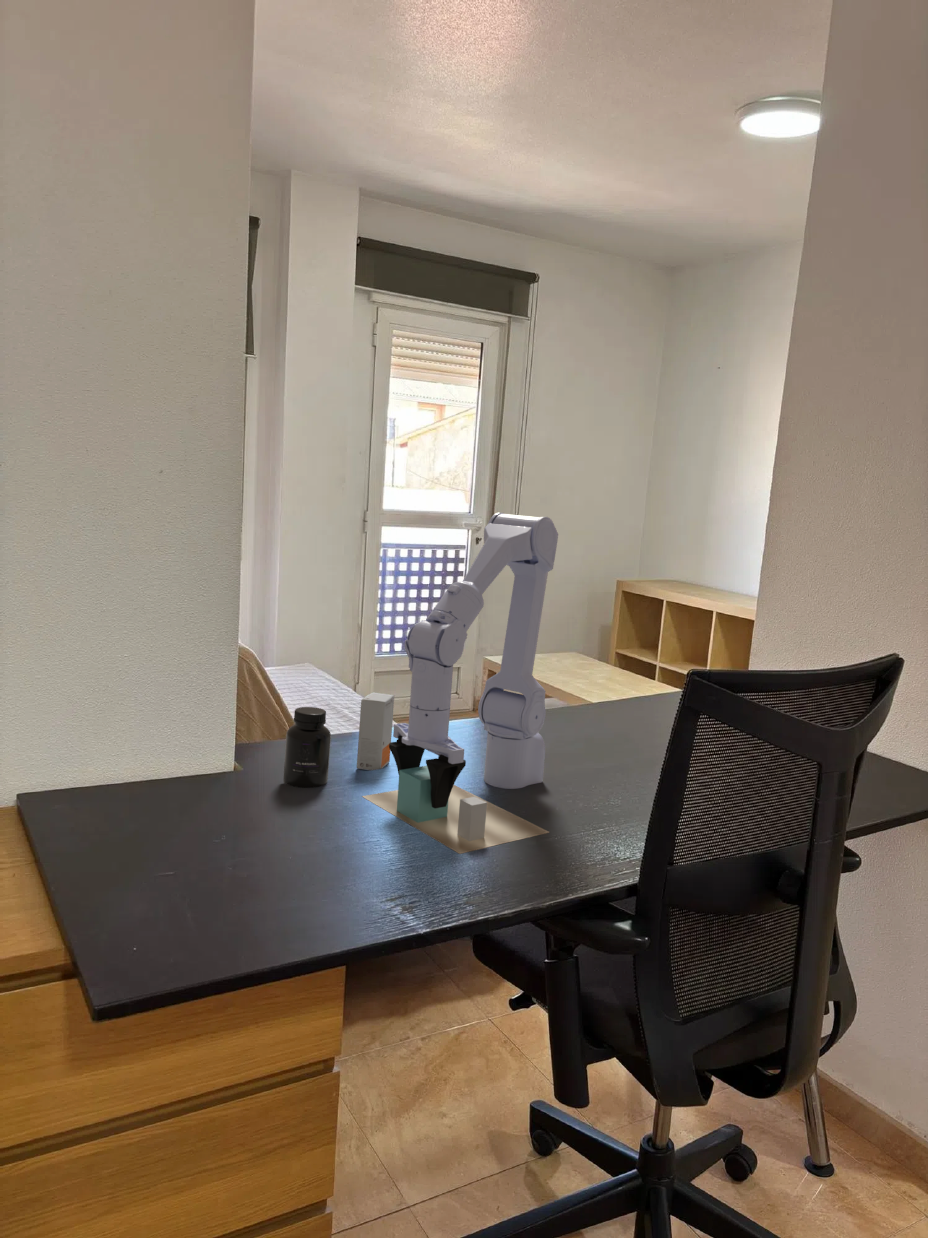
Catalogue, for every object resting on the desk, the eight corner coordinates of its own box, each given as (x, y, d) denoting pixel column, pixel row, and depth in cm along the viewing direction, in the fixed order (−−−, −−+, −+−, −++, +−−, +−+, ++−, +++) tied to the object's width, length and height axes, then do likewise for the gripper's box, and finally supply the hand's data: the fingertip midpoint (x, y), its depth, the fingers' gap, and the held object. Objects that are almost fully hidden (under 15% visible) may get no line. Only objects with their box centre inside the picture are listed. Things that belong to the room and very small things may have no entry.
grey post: (472, 831, 125) (475, 796, 125) (484, 837, 123) (487, 802, 123) (457, 834, 124) (460, 799, 123) (469, 841, 122) (472, 805, 121)
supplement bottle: (297, 795, 137) (301, 718, 135) (275, 782, 142) (278, 707, 140) (336, 788, 141) (340, 713, 139) (312, 775, 146) (316, 703, 144)
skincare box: (380, 772, 150) (385, 702, 149) (355, 769, 151) (360, 699, 149) (390, 762, 156) (395, 694, 155) (367, 759, 157) (371, 691, 155)
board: (446, 786, 146) (447, 781, 146) (549, 837, 127) (549, 832, 127) (361, 801, 136) (361, 796, 136) (459, 859, 117) (459, 853, 117)
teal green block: (425, 805, 134) (428, 765, 133) (447, 816, 130) (450, 775, 129) (396, 810, 131) (399, 770, 130) (417, 822, 127) (420, 780, 126)
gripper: (378, 696, 132) (372, 787, 133) (437, 721, 120) (430, 819, 122) (418, 692, 136) (412, 780, 138) (478, 716, 125) (471, 811, 127)
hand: (423, 798), depth 130 cm, fingers open, 7 cm apart
